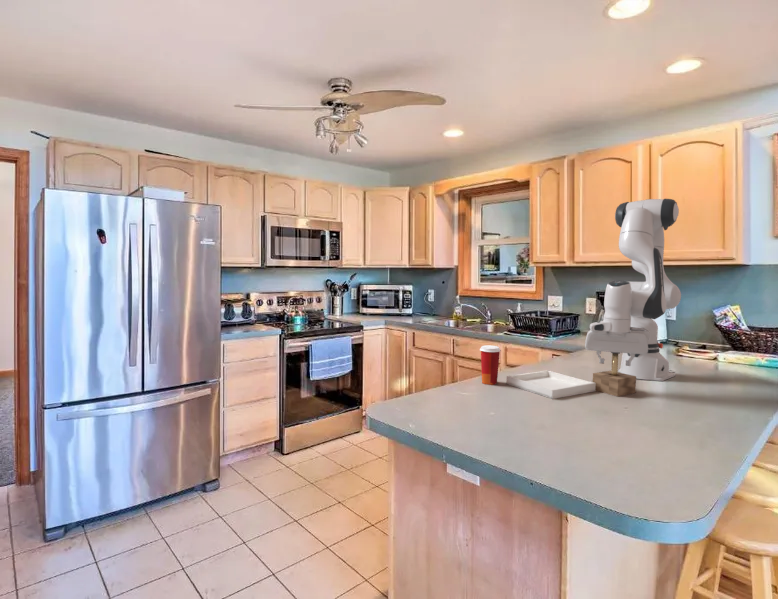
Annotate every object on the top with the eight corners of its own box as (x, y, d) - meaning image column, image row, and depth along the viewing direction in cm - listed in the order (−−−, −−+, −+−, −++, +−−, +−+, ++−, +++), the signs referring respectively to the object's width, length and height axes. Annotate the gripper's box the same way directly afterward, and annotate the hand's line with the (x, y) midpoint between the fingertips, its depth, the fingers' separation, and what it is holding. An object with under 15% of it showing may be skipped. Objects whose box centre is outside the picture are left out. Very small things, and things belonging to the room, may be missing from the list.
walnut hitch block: (609, 386, 170) (610, 370, 170) (635, 392, 161) (636, 376, 161) (592, 389, 165) (593, 373, 165) (617, 396, 156) (618, 379, 156)
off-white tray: (547, 377, 182) (547, 370, 182) (595, 391, 163) (595, 382, 163) (506, 383, 172) (506, 376, 172) (552, 399, 153) (552, 390, 152)
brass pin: (612, 389, 165) (614, 349, 164) (620, 391, 163) (622, 350, 161) (607, 390, 164) (609, 349, 163) (614, 392, 161) (616, 351, 160)
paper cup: (498, 380, 176) (499, 345, 175) (501, 385, 169) (502, 348, 168) (477, 380, 177) (478, 344, 176) (479, 385, 170) (480, 348, 169)
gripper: (648, 327, 161) (646, 365, 162) (585, 323, 168) (584, 360, 169) (651, 329, 155) (649, 368, 156) (586, 325, 162) (584, 363, 163)
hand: (614, 364), depth 162 cm, fingers open, 7 cm apart
